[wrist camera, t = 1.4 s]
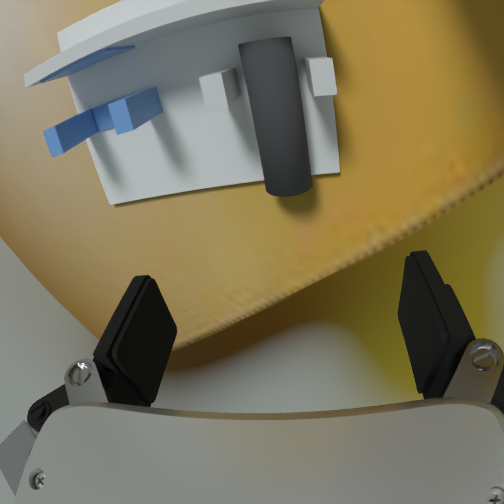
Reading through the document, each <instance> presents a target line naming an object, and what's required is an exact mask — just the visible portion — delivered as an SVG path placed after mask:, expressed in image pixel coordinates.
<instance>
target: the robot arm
mask: <svg viewBox="0 0 504 504" xmlns="http://www.w3.org/2000/svg"><path fill="white" fill-rule="evenodd" d="M398 319H399V323H400V326H401V329H402V333H403V336H404V340H405V343H406V347H407V351H408V354H409V358H410V362H411V366H412V370H413V374H414V378H415V382H416V387H417V391H418V393H419V394H420V393H423V398H424V400H416V401H409V402H402V403H395V404H387V405H379V406H370V407H362V408H353V409H342V410H330V411H316V412H298V413H297V412H295V413H219V412H199V411H184V410H172V409H161V408H152V407H150V406H151V403H153V402H154V401H155V399H156V396H157V393H158V390H159V387H160V383H161V380H162V377H163V374H164V371H165V368H166V365H167V362H168V359H169V356H170V353H171V350H172V347H173V344H174V341H175V338H176V335H177V327H176V324H175V322H174V320H173V318H172V316H171V314H170V312H169V309H168V307H167V305H166V303H165V301H164V299H163V296H162V294H161V292H160V290H159V288H158V285H157V283H156V281H155V280H154V279H153V278H151V277H150V276H149V275H142V276H135V277H134V278H133V279H132V281H131V283H130V285H129V287H128V288H127V290H126V292H125V294H124V296H123V297H122V299H121V301H120V303H119V305H118V306H117V308H116V310H115V312H114V314H113V316H112V318H111V320H110V321H109V323H108V325H107V327H106V329H105V331H104V333H103V335H102V337H101V339H100V341H99V343H98V345H97V347H96V349H95V351H94V353H93V355H94V359H93V361H92V360H90V359H87V358H85V359H80V360H77V361H76V362H74V363H73V364H72V365H71V366H70V367H69V368H68V370H67V371H66V373H65V377H64V378H65V379H64V380H65V384H64V385H62V386H61V387H59V388H57V389H56V390H54V391H52V392H51V393H49V394H47V395H46V396H44V397H42V398H41V399H39V400H37V401H36V402H35V403H34V404H33V405H32V406H31V407H30V409H29V411H28V416H27V422H25V421H23V422H22V423H21V424H20V425H19V426H18V427H17V428H16V429H15V430H14V431H13V432H12V433H11V434H10V435H9V436H8V437H7V438H6V439H5V440H4V441H3V442H2V443H1V444H0V468H1V470H2V473H3V475H4V476H5V478H6V480H7V482H8V484H9V486H10V488H11V489H12V491H13V493H14V494H15V500H14V504H504V354H503V351H502V349H501V348H500V347H499V345H497V344H496V343H495V342H493V341H492V340H489V339H485V338H482V339H481V338H480V339H476V338H475V336H474V333H473V331H472V329H471V327H470V324H469V322H468V320H467V318H466V316H465V314H464V312H463V309H462V308H461V305H460V303H459V301H458V299H457V297H456V295H455V293H454V291H453V289H452V288H451V286H450V285H449V284H444V282H443V280H442V278H441V276H440V274H439V272H438V271H437V268H436V267H435V265H434V263H433V261H432V259H431V257H430V256H429V254H428V252H427V251H426V250H423V251H415V252H411V253H410V256H407V257H406V259H405V267H404V274H403V282H402V289H401V295H400V301H399V308H398ZM490 489H491V490H490Z"/></svg>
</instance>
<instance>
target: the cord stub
mask: <svg viewBox="0 0 504 504" xmlns="http://www.w3.org/2000/svg"><path fill="white" fill-rule="evenodd" d="M238 47H239V52H240V57H241V62H242V67H243V72H244V77H245V82H246V87H247V92H248V97H249V102H250V107H251V112H252V117H253V122H254V127H255V133H256V138H257V143H258V149H259V154H260V159H261V165H262V170H263V176H264V181H265V187H266V191H267V192H268V193H269V194H271V195H274V196H280V197H287V196H294V195H299V194H302V193H304V192H306V191H308V190H309V189H310V188H311V187H312V176H311V167H310V158H309V150H308V142H307V135H306V127H305V120H304V113H303V106H302V99H301V93H300V86H299V80H298V74H297V68H296V62H295V56H294V51H293V45H292V40H291V37H277V38H269V39H262V40H256V41H250V42H246V43H241V44H238Z"/></svg>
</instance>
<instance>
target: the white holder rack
mask: <svg viewBox="0 0 504 504" xmlns="http://www.w3.org/2000/svg"><path fill="white" fill-rule="evenodd" d="M323 1H324V0H122V1H120V2H118V3H115V4H113V5H111V6H109V7H106V8H104V9H102V10H100V11H98V12H96V13H94V14H92V15H90V16H88V17H86V18H84V19H82V20H80V21H78V22H76V23H74V24H72V25H71V26H69V27H67V28H65V29H63V30H62V31H60V32H58V33H57V36H58V40H59V45H60V49H61V53H59V54H57V55H55V56H54V57H52V58H50V59H49V60H47V61H45V62H43V63H42V64H40V65H38V66H37V67H35V68H34V69H32V70H30V71H29V72H27V73H26V74H24V75H23V78H24V82H25V86H26V88H28V87H31V86H34V85H37V84H40V83H44V82H47V81H51V80H54V79H57V78H61V77H65V76H67V78H68V81H69V85H70V89H71V92H72V96H73V99H74V103H75V106H76V109H77V113H78V114H77V115H75V116H73V117H71V118H69V119H67V120H65V121H63V122H61V123H59V124H57V125H55V126H53V127H51V128H49V129H47V130H45V131H43V133H44V136H45V139H46V142H47V145H48V148H49V151H50V153H51V156H52V157H55V156H57V155H60V154H63V153H65V152H66V151H68V150H69V149H71V148H72V147H74V146H76V145H77V144H79V143H80V142H82V141H84V140H85V139H86V141H87V144H88V147H89V150H90V153H91V156H92V159H93V161H94V164H95V167H96V170H97V172H98V175H99V178H100V181H101V183H102V186H103V188H104V191H105V194H106V196H107V199H108V201H109V204H110V205H113V204H118V203H123V202H128V201H133V200H139V199H144V198H150V197H155V196H161V195H167V194H172V193H178V192H184V191H191V190H197V189H204V188H210V187H217V186H224V185H231V184H238V183H246V182H254V181H262V180H264V176H263V170H262V165H261V159H260V154H259V149H258V143H257V138H256V133H255V127H254V122H253V117H252V112H251V107H250V102H249V97H248V92H247V87H246V82H245V77H244V72H243V67H242V62H241V57H240V52H239V47H238V44H241V43H246V42H250V41H256V40H262V39H269V38H277V37H291V40H292V45H293V51H294V56H295V62H296V68H297V74H298V80H299V86H300V93H301V99H302V106H303V113H304V120H305V127H306V135H307V142H308V150H309V158H310V167H311V175H316V174H327V173H339V172H340V166H339V153H338V142H337V131H336V121H335V112H334V104H333V95H337V89H336V81H335V74H334V67H333V60H332V58H329V57H327V53H326V47H325V41H324V35H323V29H322V24H321V18H320V13H319V6H320V5H321V4H322V2H323Z"/></svg>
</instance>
